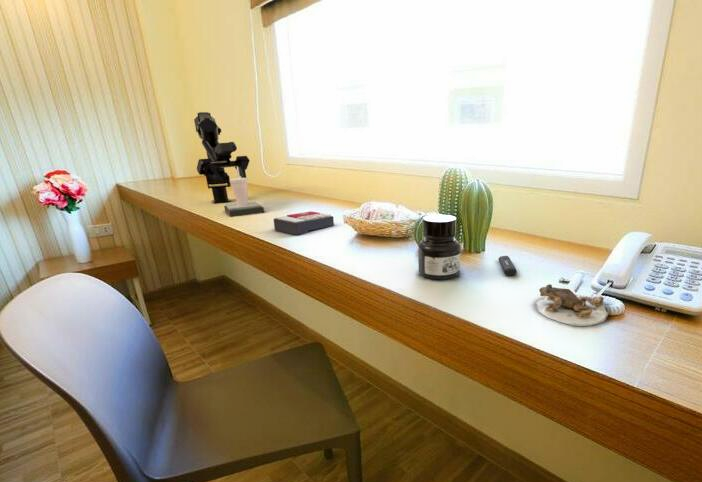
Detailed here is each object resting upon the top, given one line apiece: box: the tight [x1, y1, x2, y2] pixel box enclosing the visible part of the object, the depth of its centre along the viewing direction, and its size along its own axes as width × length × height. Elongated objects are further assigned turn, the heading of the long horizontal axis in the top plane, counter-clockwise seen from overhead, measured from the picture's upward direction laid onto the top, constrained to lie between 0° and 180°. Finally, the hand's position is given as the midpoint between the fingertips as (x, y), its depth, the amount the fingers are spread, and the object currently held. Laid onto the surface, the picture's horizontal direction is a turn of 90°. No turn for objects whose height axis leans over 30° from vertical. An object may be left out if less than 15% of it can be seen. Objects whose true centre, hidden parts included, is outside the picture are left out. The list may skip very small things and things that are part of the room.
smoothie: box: [230, 167, 249, 206], centre depth 146 cm, size 6×6×14 cm
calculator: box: [273, 211, 335, 236], centre depth 123 cm, size 11×4×15 cm
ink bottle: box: [417, 214, 462, 281], centre depth 82 cm, size 10×9×12 cm
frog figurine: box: [535, 284, 609, 327], centre depth 66 cm, size 12×12×4 cm
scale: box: [223, 200, 265, 217], centre depth 149 cm, size 12×12×3 cm
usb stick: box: [498, 255, 518, 276], centre depth 86 cm, size 10×3×2 cm, turn 176°
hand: (234, 181), depth 148 cm, fingers open, 9 cm apart
